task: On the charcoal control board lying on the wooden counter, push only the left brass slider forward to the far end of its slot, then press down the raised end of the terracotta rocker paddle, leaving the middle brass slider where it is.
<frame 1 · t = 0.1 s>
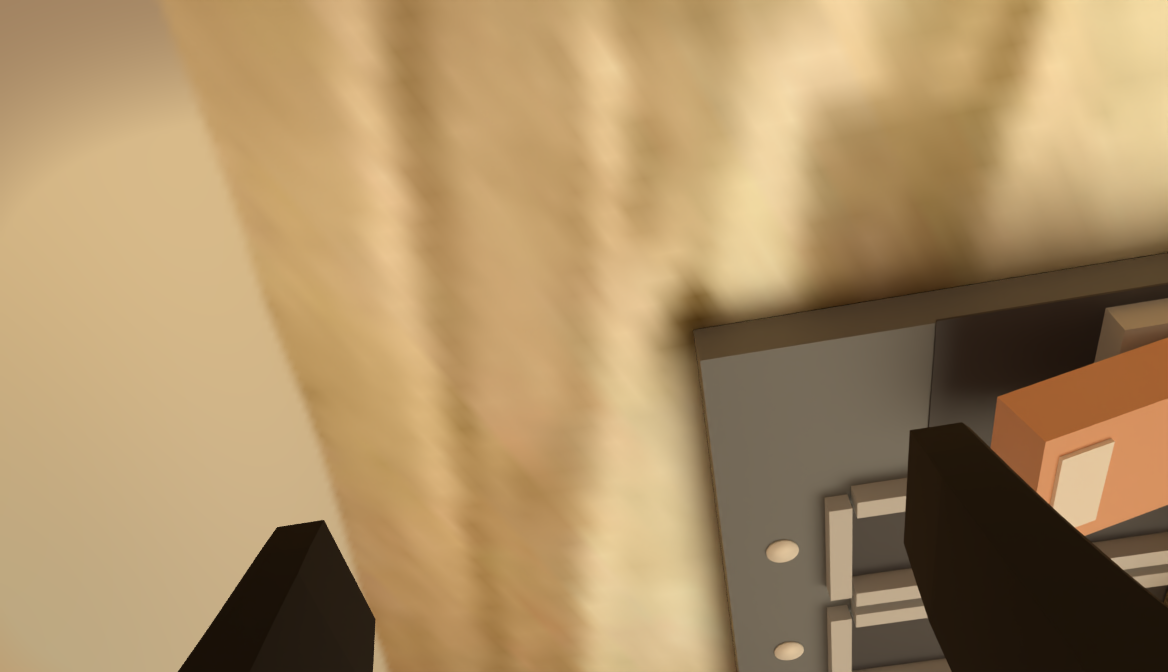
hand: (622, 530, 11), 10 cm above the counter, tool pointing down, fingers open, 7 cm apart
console: (1067, 493, 26), on the counter
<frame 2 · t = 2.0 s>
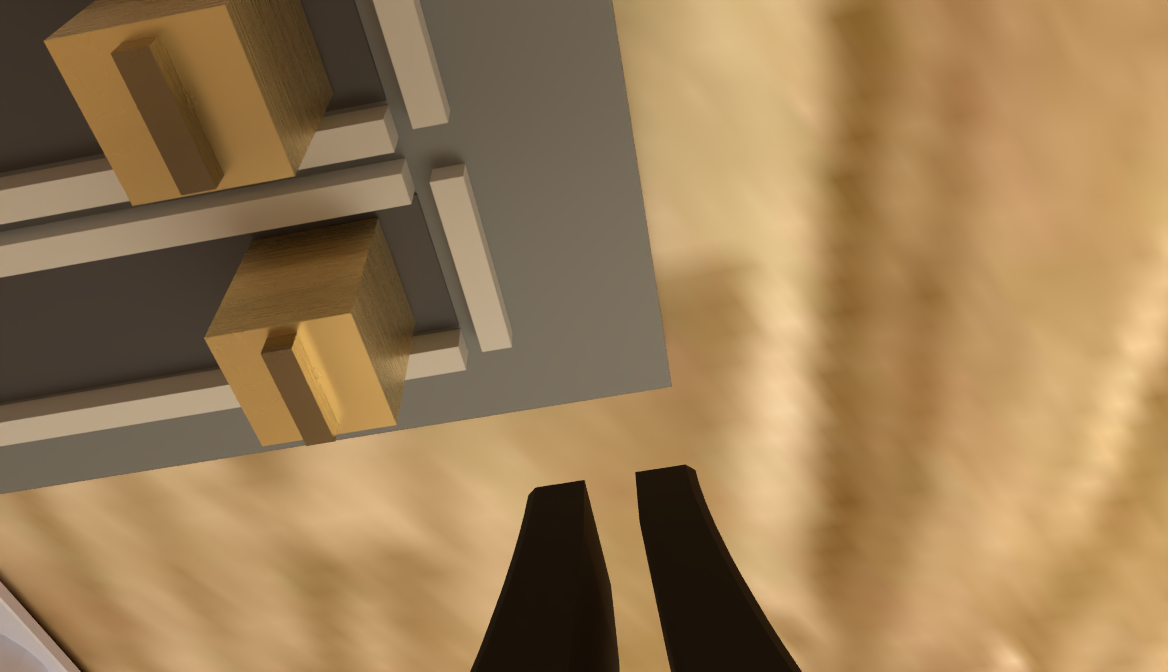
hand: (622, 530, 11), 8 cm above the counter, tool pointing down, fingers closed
slider middle: (204, 75, 13), point 3 cm above the counter, slide at 0.0 cm
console: (59, 97, 16), on the counter
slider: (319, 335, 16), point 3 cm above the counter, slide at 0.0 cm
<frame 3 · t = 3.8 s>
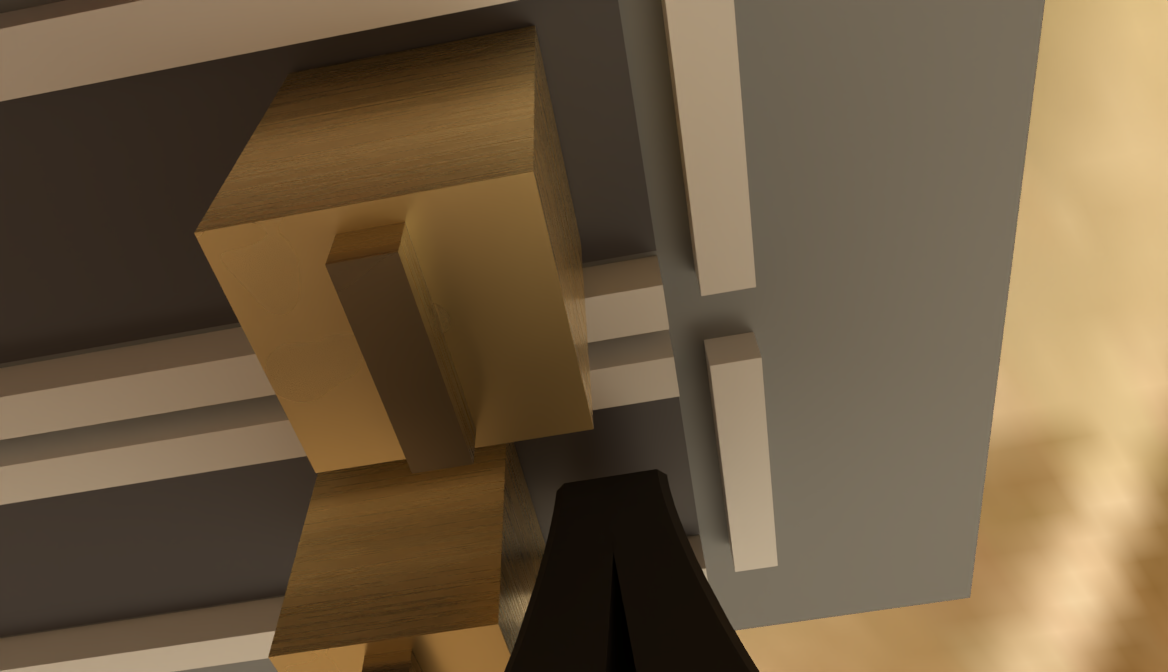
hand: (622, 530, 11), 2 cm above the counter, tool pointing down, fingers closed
slider middle: (428, 250, 8), point 3 cm above the counter, slide at 0.0 cm
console: (153, 232, 11), on the counter
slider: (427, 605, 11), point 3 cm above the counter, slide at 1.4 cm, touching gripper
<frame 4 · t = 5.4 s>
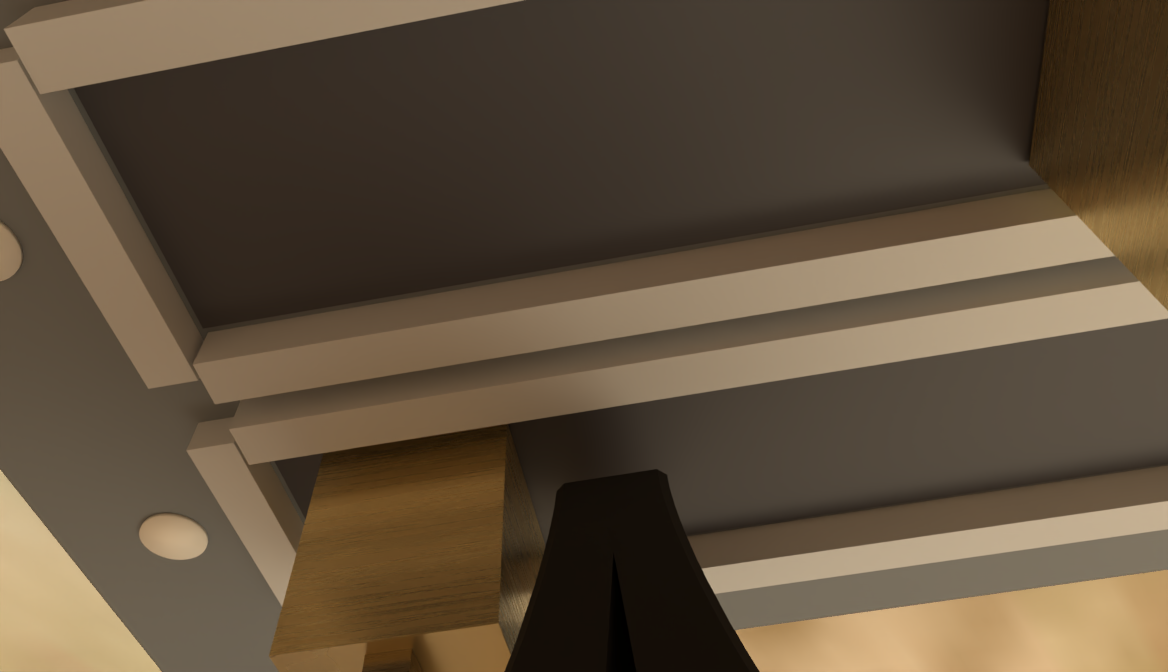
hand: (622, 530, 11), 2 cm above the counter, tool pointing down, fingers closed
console: (740, 126, 11), on the counter
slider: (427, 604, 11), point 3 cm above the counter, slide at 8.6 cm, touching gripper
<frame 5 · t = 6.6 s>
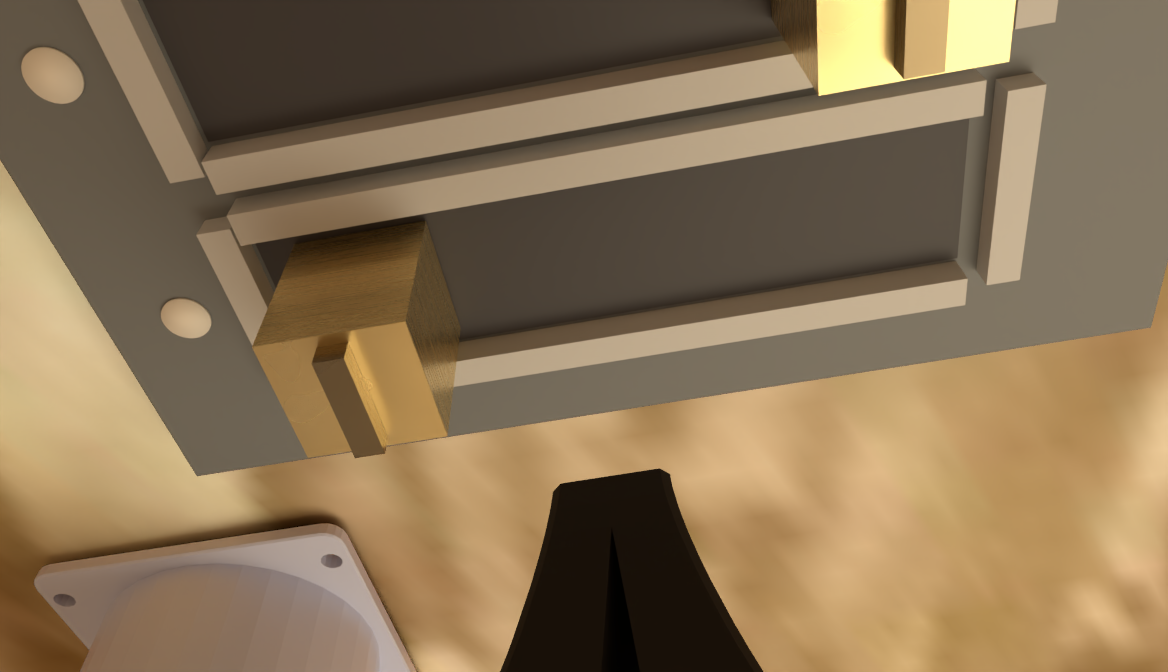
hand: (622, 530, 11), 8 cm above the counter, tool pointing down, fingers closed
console: (586, 1, 15), on the counter
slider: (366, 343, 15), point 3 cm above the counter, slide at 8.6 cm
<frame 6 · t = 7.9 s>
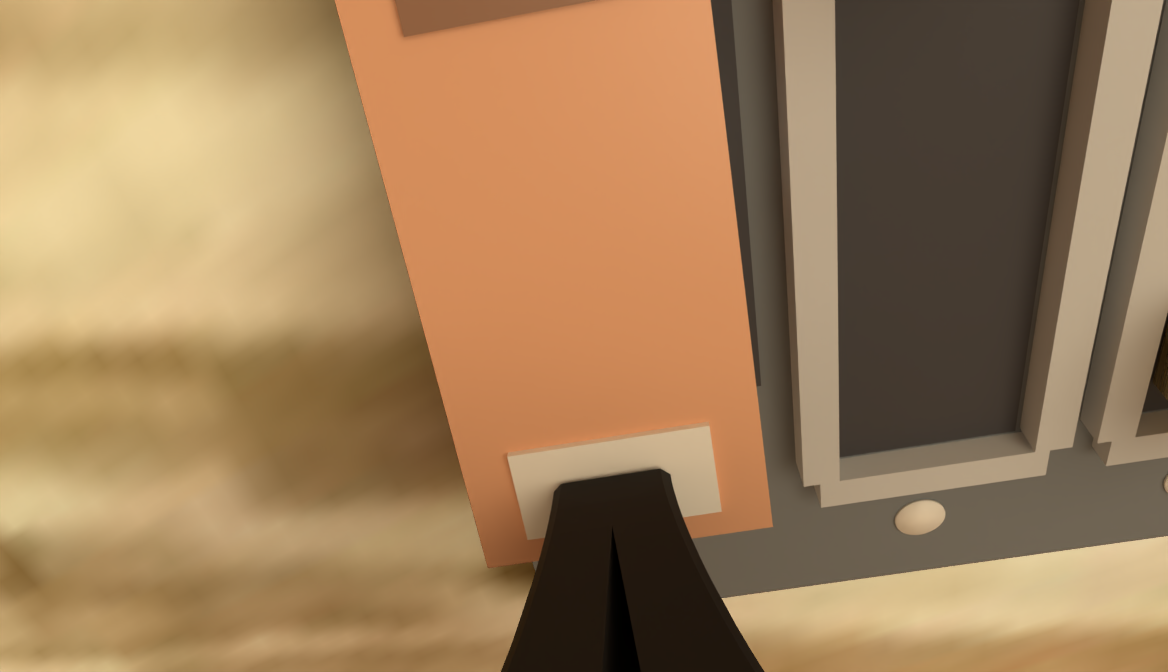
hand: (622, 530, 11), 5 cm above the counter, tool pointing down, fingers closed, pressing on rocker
rocker: (571, 226, 10), point 3 cm above the counter, hinge at 14.0°, touching gripper
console: (976, 38, 13), on the counter
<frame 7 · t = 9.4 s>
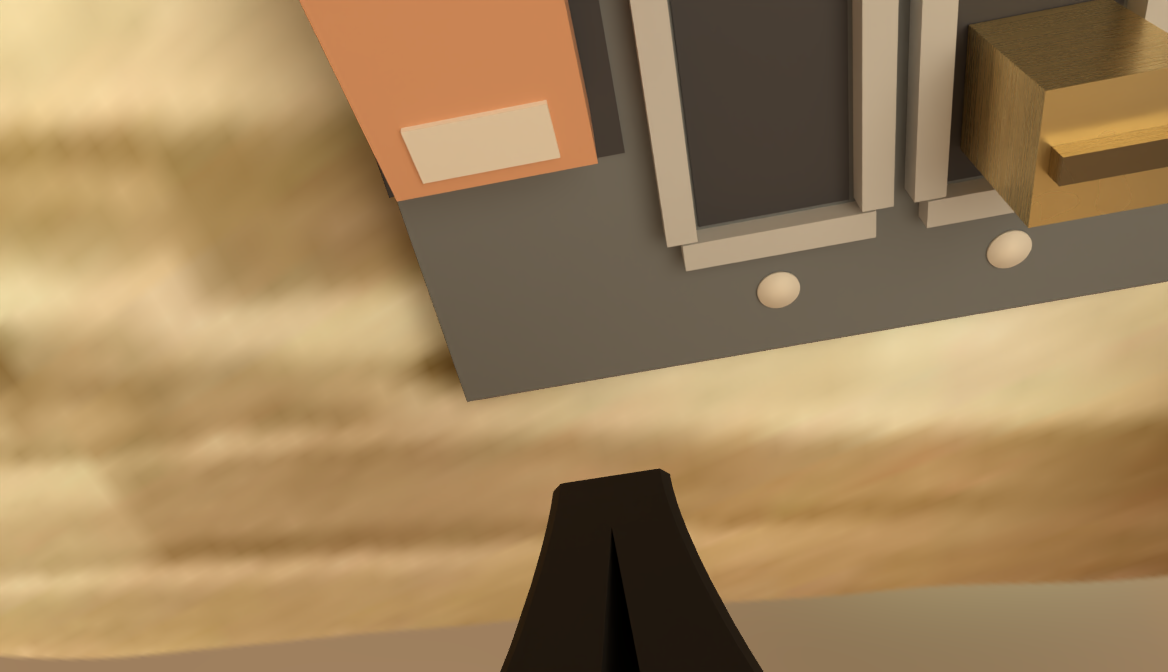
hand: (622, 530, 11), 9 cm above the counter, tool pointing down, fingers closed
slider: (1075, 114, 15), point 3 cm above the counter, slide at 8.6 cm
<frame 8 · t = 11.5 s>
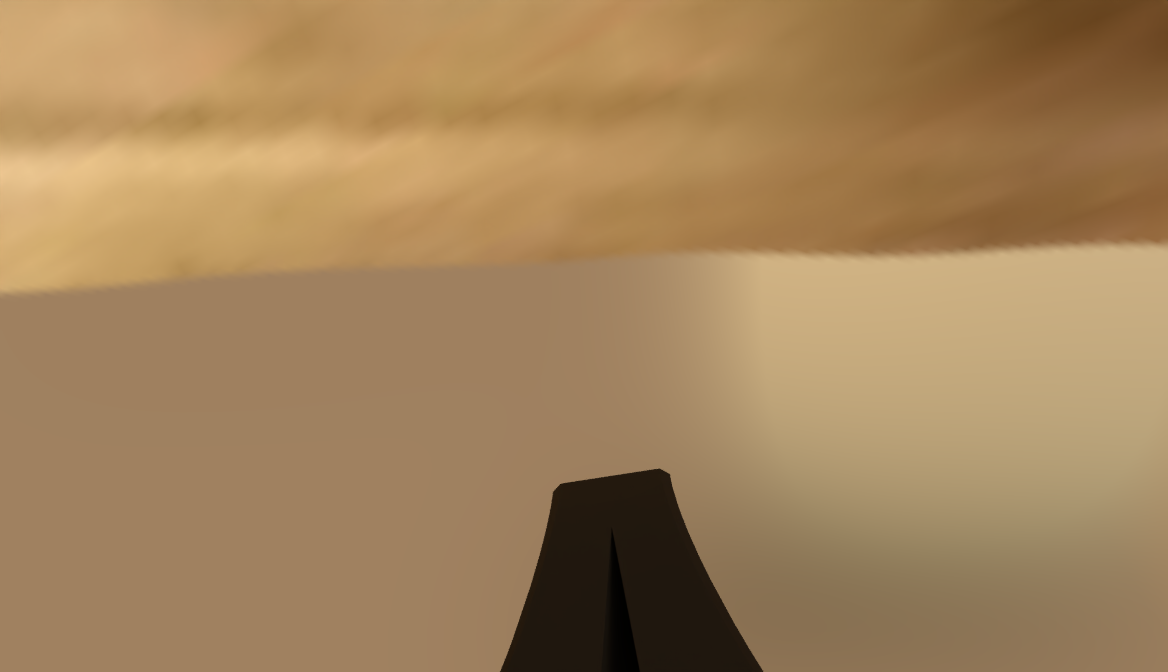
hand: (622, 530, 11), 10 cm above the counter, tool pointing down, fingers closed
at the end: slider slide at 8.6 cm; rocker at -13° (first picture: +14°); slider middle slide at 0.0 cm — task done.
